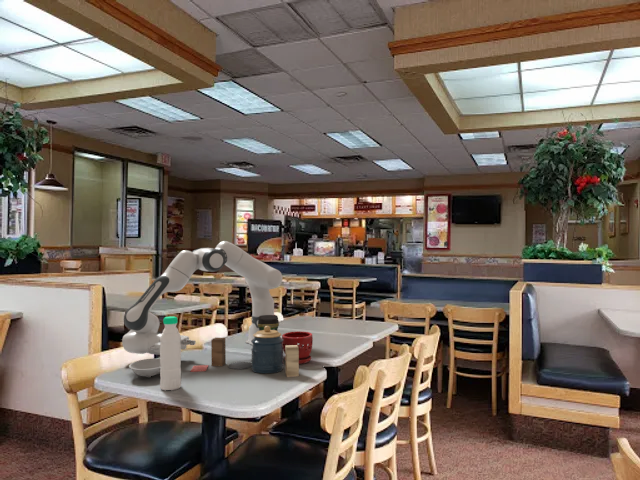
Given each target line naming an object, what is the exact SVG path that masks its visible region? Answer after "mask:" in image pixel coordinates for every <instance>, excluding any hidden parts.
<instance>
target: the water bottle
mask: <svg viewBox="0 0 640 480" xmlns="http://www.w3.org/2000/svg"><path fill="white" fill-rule="evenodd" d="M162 323H163V326H164V329H162V334H161V337H160V342H161V345H160V354H159V359H160V365H161V370H160V373H159V374H160V375H159V376H160V380H159V387H160V389H161V390H162V391H166V390H171V391H176V390H178V389H180V388H181V387H182V377H181V376H182V368H181V364H182V363H181V362H182V350H181V343H180V340H181V336H180V335H181V333H180V332H179V329H178V327H177V325H178V317H177V316H174V315H173V316H165V317H164V318H163V320H162Z"/></svg>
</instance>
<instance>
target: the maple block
mask: <svg viewBox="0 0 640 480" xmlns="http://www.w3.org/2000/svg"><path fill="white" fill-rule="evenodd" d="M297 345H298V344H297ZM297 345H287V346H285V353H284V355H285V356H284V357H285V359H284V361H285V365H284V366H285V370H284V371H285V372H284V373H285V376H286V377H287V378H290V377H291V378H293V377H299V376H300V375H299V373H300V371H299V370H300V369H299V367H300V364H299V347H298V346H297Z"/></svg>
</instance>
